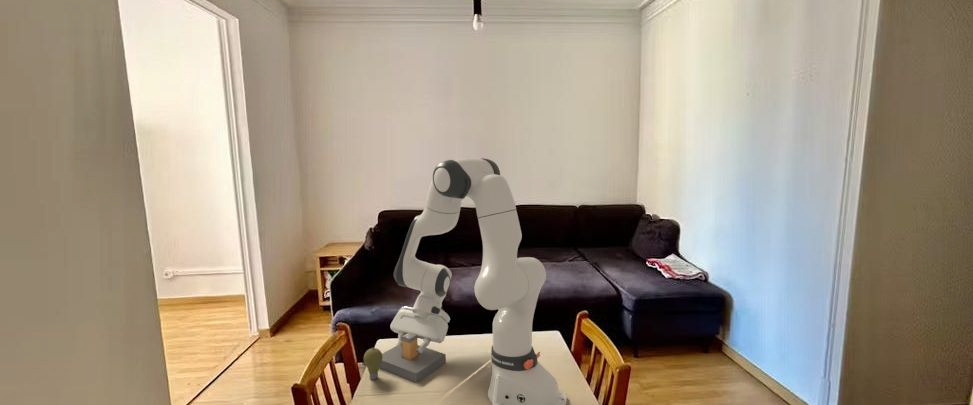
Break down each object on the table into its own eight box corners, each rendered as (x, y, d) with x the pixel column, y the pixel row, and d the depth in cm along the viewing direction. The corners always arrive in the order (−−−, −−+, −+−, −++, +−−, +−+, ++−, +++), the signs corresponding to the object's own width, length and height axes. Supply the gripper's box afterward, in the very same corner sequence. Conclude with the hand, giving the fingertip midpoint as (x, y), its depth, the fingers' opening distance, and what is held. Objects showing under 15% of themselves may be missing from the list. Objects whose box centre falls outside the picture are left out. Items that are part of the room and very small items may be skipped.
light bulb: (385, 375, 133) (384, 344, 132) (379, 384, 128) (378, 353, 126) (368, 374, 134) (367, 344, 132) (361, 384, 128) (360, 352, 127)
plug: (418, 363, 139) (417, 334, 138) (410, 368, 136) (409, 338, 135) (411, 360, 141) (409, 332, 139) (403, 365, 138) (401, 336, 136)
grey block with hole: (445, 364, 139) (445, 354, 139) (416, 384, 128) (416, 373, 127) (405, 350, 149) (405, 340, 149) (375, 367, 137) (374, 357, 137)
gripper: (397, 301, 147) (379, 339, 140) (446, 311, 137) (430, 352, 130) (405, 309, 151) (388, 346, 144) (454, 319, 142) (439, 360, 135)
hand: (409, 349), depth 137 cm, fingers open, 6 cm apart
